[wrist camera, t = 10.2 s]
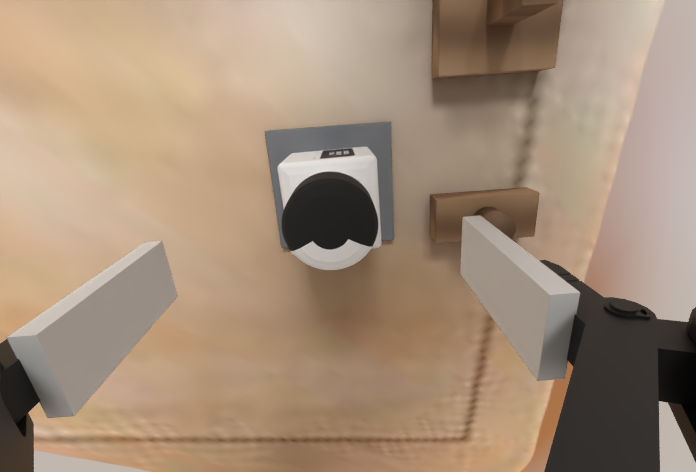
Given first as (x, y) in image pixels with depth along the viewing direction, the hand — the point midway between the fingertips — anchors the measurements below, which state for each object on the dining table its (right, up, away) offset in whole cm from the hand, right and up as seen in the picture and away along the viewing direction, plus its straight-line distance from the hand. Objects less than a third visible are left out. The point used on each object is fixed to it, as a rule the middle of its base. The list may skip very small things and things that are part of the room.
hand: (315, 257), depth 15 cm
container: (0, +6, +20) cm, 21 cm away
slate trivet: (0, +6, +20) cm, 21 cm away
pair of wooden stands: (+14, +12, +18) cm, 26 cm away
